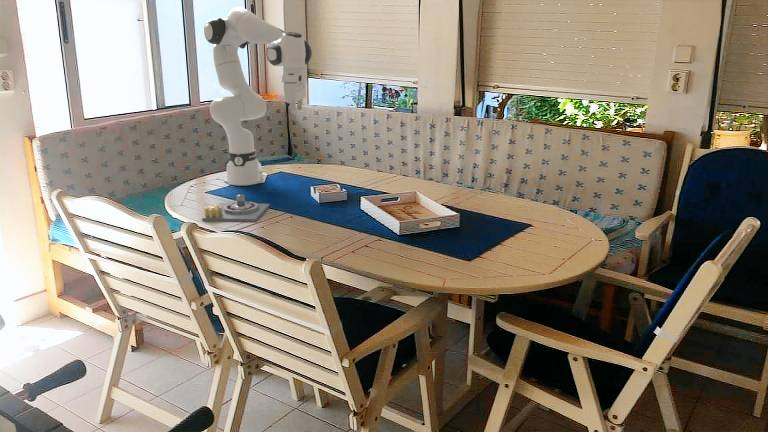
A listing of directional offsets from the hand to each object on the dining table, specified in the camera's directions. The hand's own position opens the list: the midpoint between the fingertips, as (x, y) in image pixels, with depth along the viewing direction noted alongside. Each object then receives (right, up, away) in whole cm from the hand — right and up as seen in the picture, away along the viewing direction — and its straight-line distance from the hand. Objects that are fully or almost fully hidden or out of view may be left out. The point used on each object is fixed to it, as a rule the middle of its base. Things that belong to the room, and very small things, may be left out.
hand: (296, 111), depth 248 cm
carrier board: (-22, -40, -7) cm, 46 cm away
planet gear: (-21, -38, -5) cm, 44 cm away
